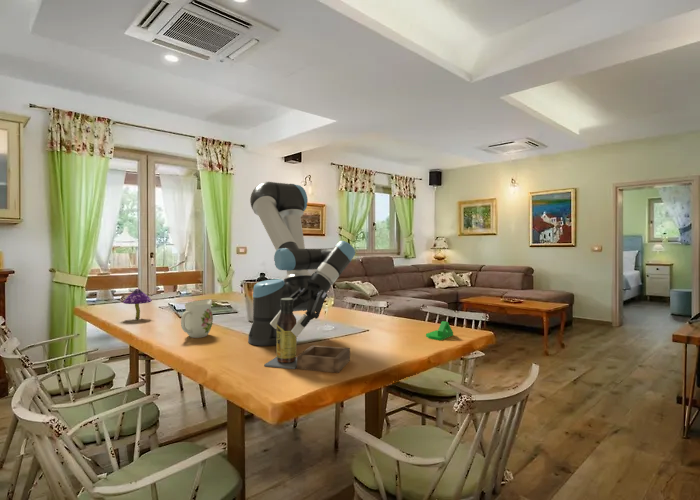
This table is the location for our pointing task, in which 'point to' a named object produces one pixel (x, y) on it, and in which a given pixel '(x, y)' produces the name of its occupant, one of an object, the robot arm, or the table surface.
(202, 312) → the pitcher
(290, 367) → the slate coaster
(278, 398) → the table surface
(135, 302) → the decorative mushroom
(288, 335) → the sauce bottle
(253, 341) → the robot arm
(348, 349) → the walnut collar
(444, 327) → the bracket
